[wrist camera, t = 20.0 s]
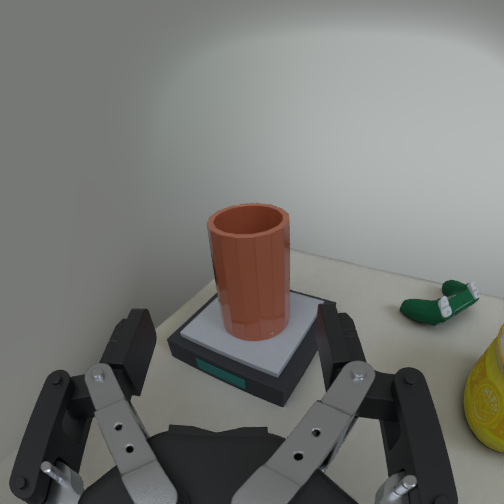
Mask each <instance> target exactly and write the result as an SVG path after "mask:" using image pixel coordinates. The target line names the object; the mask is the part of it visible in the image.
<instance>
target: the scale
mask: <svg viewBox="0 0 504 504" xmlns="http://www.w3.org/2000/svg"><path fill="white" fill-rule="evenodd" d="M321 303H335V305H336V302H332V301H329V300H325V299H321V298H318V297H314V296H310V295H307V294H303V293H299V292H296V291H292V290H290V316H289V322H288V325H287V326H286V328H285V329H284V330H283V331H282V332H281V333H280V334H278V335H277V336H275V337H273V338H270V339H267V340H262V341H245V340H241V339H238V338H236V337H234V336H232V335H231V334H230V333H228V332H227V330H226V329H225V327H224V325H223V321H222V318H221V313H220V307H219V301H218V295H217V293H216V294H215V295H214V296H213V297H212V298H211V299H210V300H209V301H208V302H207V303H206V304H204V305H203V306H202V307H201V308H200V309H199V310H198V311H197V312H196V313H195V314H194V315H193V316H192V317H190V318H189V319H188V320H187V321H186V322H185V323H184V324H183V325H182V326H181V327H180V328H179V329H178V330H176V331H175V332H174V333H173V334H172V335H171V336H170V337H169V338H168V339H167V341H168V344H169V347H170V350H171V353H172V355H173V356H174V357H176V358H178V359H180V360H181V361H183V362H185V363H187V364H189V365H191V366H193V367H195V368H197V369H199V370H201V371H203V372H205V373H207V374H209V375H211V376H213V377H215V378H217V379H220V380H222V381H224V382H226V383H228V384H230V385H232V386H235V387H237V388H239V389H241V390H243V391H246V392H248V393H250V394H253V395H255V396H257V397H260V398H262V399H264V400H267V401H269V402H272V403H274V404H276V405H279V406H281V407H283V406H284V405H285V403H286V402H287V400H288V398H289V397H290V395H291V394H292V392H293V390H294V389H295V387H296V386H297V384H298V382H299V381H300V379H301V377H302V376H303V374H304V372H305V370H306V369H307V367H308V365H309V364H310V362H311V360H312V358H313V357H314V355H315V353H316V351H317V350H318V346H317V340H316V321H317V309H318V304H321Z"/></svg>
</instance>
